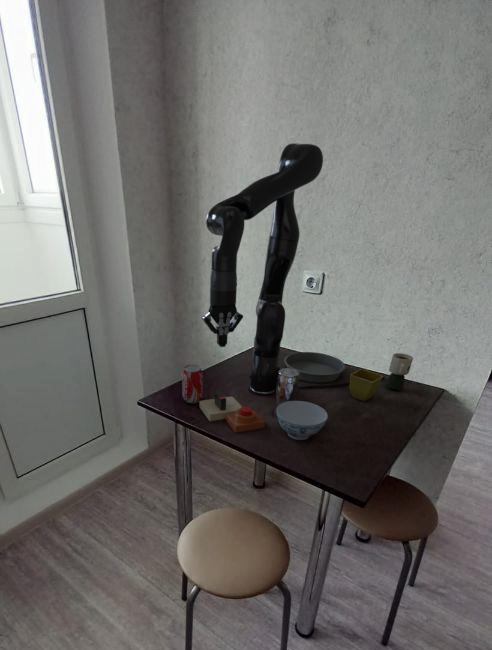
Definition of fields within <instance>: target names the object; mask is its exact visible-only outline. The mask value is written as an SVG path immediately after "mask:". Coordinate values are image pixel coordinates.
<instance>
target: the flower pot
mask: <svg viewBox="0 0 492 650" xmlns="http://www.w3.org/2000/svg"><path fill="white" fill-rule="evenodd" d="M383 377H384V375H382V374H379V373H376V372H374V371H370V370H367V369H363V368H359V369H357V370H356V371H354V372H352V373H351V374H350V375H349V382H350V384H348V389H349V393H350V396H351V397H352V398H354V399H356V400H359V401H362V402H366V401H368V400H370V399H371V398H372V397H373V396H374V395H375V394H376V392H377V391H378V389H379V388H380V385H381V382H382V381H383V379H382V378H383Z"/></svg>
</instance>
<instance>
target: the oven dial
mask: <svg viewBox="0 0 492 650" xmlns="http://www.w3.org/2000/svg"><path fill="white" fill-rule="evenodd" d="M225 397H226V396H225V395H223V394H222V392H221V391H215V392H214V399H215V404H216V406H217V407H218V408H219V409H220V410H221V411H222V410H226V398H225Z"/></svg>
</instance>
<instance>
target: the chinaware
mask: <svg viewBox="0 0 492 650" xmlns="http://www.w3.org/2000/svg"><path fill="white" fill-rule="evenodd" d="M276 417H277V421H278V424H279V425H280V427H281V428H282V430H283V431H284V432H285V433H287V436H288V437H289V438H291V439H293V440H297V441H305V440H308V439H309V438H310V437H312V436H314V435H316V434H317V433H319V432H320V431H321V430H322V428H323V427H324V426H325V424H326V422H327V420H328V411H326V409H324V408H323V407H321V406H319V404H315V403H313V402H309V401H304V400H303V401H302V400H294V401H289V402H285V403H282V404H280V405H279V406H278V407H277V416H276Z"/></svg>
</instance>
